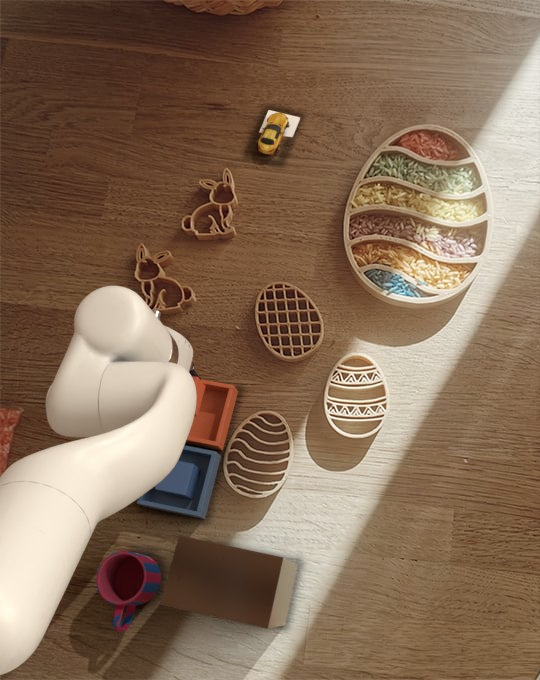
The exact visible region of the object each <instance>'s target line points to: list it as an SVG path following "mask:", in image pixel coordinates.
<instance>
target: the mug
mask: <svg viewBox="0 0 540 680" xmlns="http://www.w3.org/2000/svg"><path fill="white" fill-rule="evenodd" d="M95 583H96V588H97V592H98V593H99V595H100V596H101V598H102V599H103V600H104V601H106V602H107V603H108V604H111V605H114V606H115V609H114V613H113V616H112V617H113V618H112V627H113V629H114V631H115V632H117V633H125V632H126V631H128V630H129V628H130V627H131V624H132V621H133V617H134V614H135V611H136V606H139V605H143V604H145V603H147V602H149V601H150V600H152V599H153V598H154V597H155V596H156V594H157V593H158V591H159V589H160V587H161V583H162V572H161V567H160V566H159V564H158V562H156V560H154V559H153V558H152V557H150V555H149V556H148V555H146V554H142V553H138V552H133V551H127V550H121V551H117V552H116V551H115V552H113V553H112V554H110V555H109V556H108V557H106V558H105V559H104V560H103V562H102V563H101V564H100V566H99V568H98V570H97V574H96V581H95ZM125 608H126V610H125ZM124 610H125V615H124V619H123V622H122V617H123V613H124Z"/></svg>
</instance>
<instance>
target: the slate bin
mask: <svg viewBox="0 0 540 680" xmlns="http://www.w3.org/2000/svg"><path fill="white" fill-rule="evenodd" d="M221 459H222V456H221V455H220V454H219V453H218V452H217V451H216V450H215V451H214V450H209V449H204V448H200V447H194V446H190V445H186V444H185V445H184V448H183V450H182V453H181V455H180V457H179V460H178V461H181V462H186V463H191V464H194V465H195V466H197V467H198V468H199V469H201V471H200V475H199V478H198V482H197V486H196V489H195V493H194V497H193V500H192V499H187V498H182V497H178V496H173V495H168V494H164V493H162V492H160V491H158V490H156V489H155V487H156V486H154V487H153V488H152V489H150V490H149V491H148V492H146V493H145V494H143V495H142V496H141V497H139V498H138V499H137V500H136V504H137V505H140V506H141V507H145V508H149V509H153V510H159V511H162V512H163V511H164V512H168V513H173V514H178V515H182V516H187V517H192V518H197V519H200V520H201V519H202V520H206V517H207V513H208V510H209V509H208V508H209V505H210V501H211V497H212V494H213V489H214V486H215V481H216V479H217V474H218V470H219V466H220V462H221Z"/></svg>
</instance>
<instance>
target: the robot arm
mask: <svg viewBox="0 0 540 680" xmlns="http://www.w3.org/2000/svg"><path fill="white" fill-rule="evenodd" d="M161 316H162V312H161V311H160V310H157V309H151V308H150V306H149V305H148V304H147V302H146V301H145V300H144V299H143V298H142V296H140V295H139V294H138V293H137V292H136V291H134V290H132V289H130V288H128V287H126V286H120V285H107V286H102V287H99V288H97V289H95V290H93V291H91V292H90V293H89V294H87V295H86V296H85V297H84V298H83V299H82V300H81V302H80V303H79V305H78V306H77V308H76V310H75V314H74V319H73V329H74V330H73V331H74V332H73V334H72V337H71V339H70V342H69V345H68V347H67V349H66V352H65V354H64V357H63V358H62V361H61V362H60V365H59V367H58V369H57V372H56V374H55V376H54V378H53V381H52V383H51V384H50V386H49V388H48V390H47V393H46V397H45V412H46V419H47V423H48V425H49V427H50V428H51V429H52V431H54V432H55V433H56V434H58V435H60V436H63V437H69V438H80V439H77V440H72V441H68V442H65V443H61V444H57V445H54V446H50V447H47V448H45V449H42V450H39V451H36V452H34V453H31V454H29V455H26V456H24V457H22V458H20V459H19V460H16V461H15V462H14V463H12V464H10V465H9V466H8V467H7V469H5V471H4V472H2V474H1V475H0V676H2V675H5V674H7V673H9V672H12V671H13V670H15V669H17V668H19V667H20V666H21V665H23V664H24V663H25V662H26V661H27V660H28V659H29V658H30V657H31V656H32V655H33V654H34V653H35V652H36V650H37V648H38V647H39V645H40V643H41V642H42V640H43V638H44V636H45V634H46V632H47V630H48V628H49V626H50V624H51V621H52V619H53V617H54V616H55V613H56V611H57V609H58V607H59V605H60V603H61V600H62V599H63V597H64V594H65V593H66V590H67V588H68V586H69V585H70V581H71V579H72V578H73V575H74V573H75V571H76V569H77V567H78V565H79V563H80V561H81V559H82V556H83V555H84V552H85V550H86V548H87V546H88V544H89V542H90V540H91V537H92V536H93V533H94V531H95V529H96V527H97V526H98V525H97V524H98V523H100V522H101V521H103V520H105V519H107V518H109V517H110V516H112V515H114V514H116V513H118V512H120V511H121V510H123V509H124V508H126V507H128V506H129V505H131V504H132V503H133V502H135V501H137V500H138V498H139V497H141V496H142V495H143V494H145V493H146V492H148V491H149V490H150V489H152V488H153V487H154V486H156V485H157V484H158V483H159V482H161V481H162V480H163V479H164V478H165V477H166V476H167V475H168V474H169V473H170V472H171V470H172V469H173V468H174V466H175V465H176V463H177V461H178V460H179V457H180V455H181V453H182V450H183V448H184V445H185V446H186V443H185V442H186V440H187V437H188V435H189V432H190V429H191V426H192V423H193V419H194V414H195V410H196V400H197V394H196V387H195V383H194V380H193V378H192V376H195V377H198V378H199V379H200V380H201V379H202V378H201V376H200V375H199V374H198V373H197V372H196V370H195V362H194V361H193V357H194V349H193V346H192V344H191V343H190V342H191V332H190V331H189V330H185V329H180V330H179V331H176V330H174V329H173V328H171V327H168V326H166V325H165V324H163V322H162V321H161V320H162V319H161Z"/></svg>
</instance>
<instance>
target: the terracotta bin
mask: <svg viewBox="0 0 540 680" xmlns="http://www.w3.org/2000/svg"><path fill="white" fill-rule="evenodd" d="M201 381H202V383H203V384H204V385H205V386H206V387H205V390H204V394H203V398H202V401H201V405H200V409H199V412H198V416H194V419H193V423H192V426H191V429H190V432H189V435H188V437H187V440H186V442H185V445H186V444H187V445H191V446H196V447H202V448H207V449H211V450H215V451H216V450H217V451H222V452H223V450H224V447H225V444H226V440H227V435H228V431H229V428H230V424H231V420H232V416H233V412H234V408H235V405H236V401H237V397H238V393H239V391H238V389H237V388H236V386H235V385H234V384H230V383H224V382H218V381H213V380H208V379H203V378H201Z"/></svg>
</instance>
